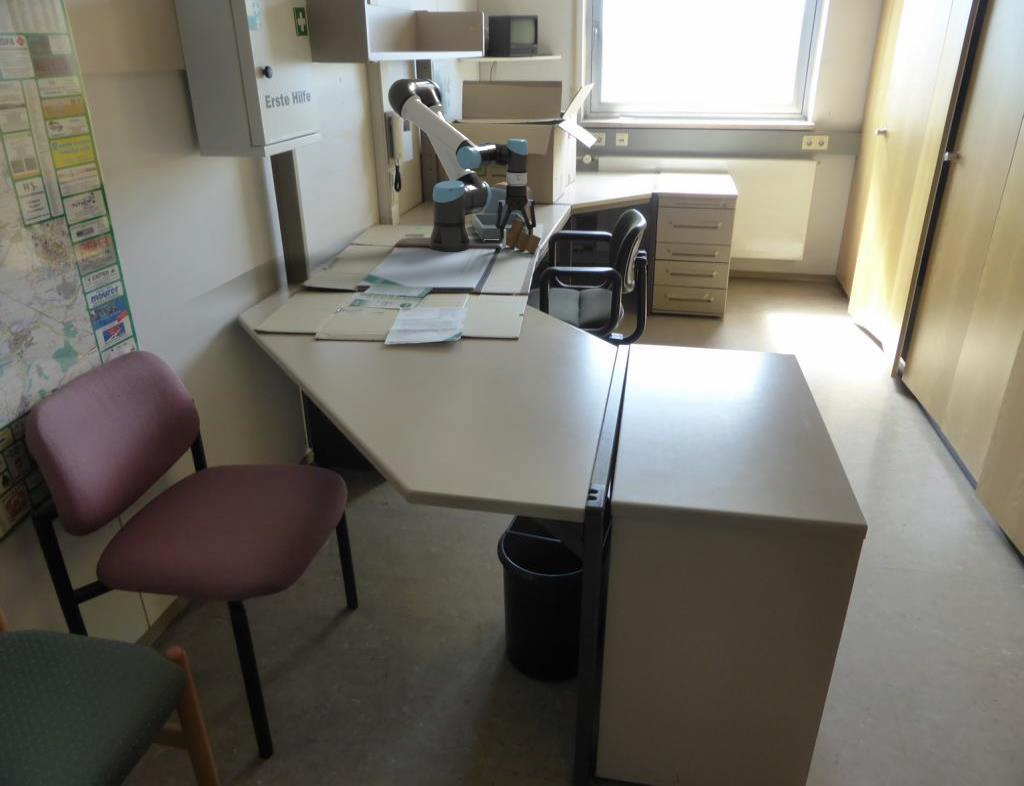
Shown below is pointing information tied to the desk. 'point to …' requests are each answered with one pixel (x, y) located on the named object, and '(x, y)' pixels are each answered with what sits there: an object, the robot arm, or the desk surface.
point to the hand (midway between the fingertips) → (515, 246)
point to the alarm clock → (500, 194)
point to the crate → (487, 225)
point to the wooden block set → (521, 238)
